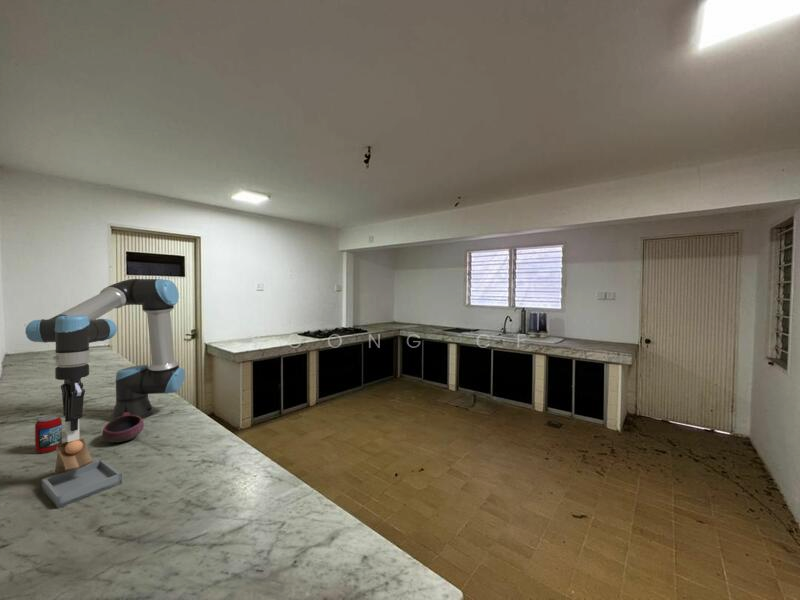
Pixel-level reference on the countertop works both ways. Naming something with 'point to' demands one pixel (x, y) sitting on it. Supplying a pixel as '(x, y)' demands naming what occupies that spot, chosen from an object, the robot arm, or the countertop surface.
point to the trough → (71, 458)
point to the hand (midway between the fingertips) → (72, 440)
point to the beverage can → (48, 433)
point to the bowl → (123, 428)
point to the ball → (73, 447)
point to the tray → (80, 482)
